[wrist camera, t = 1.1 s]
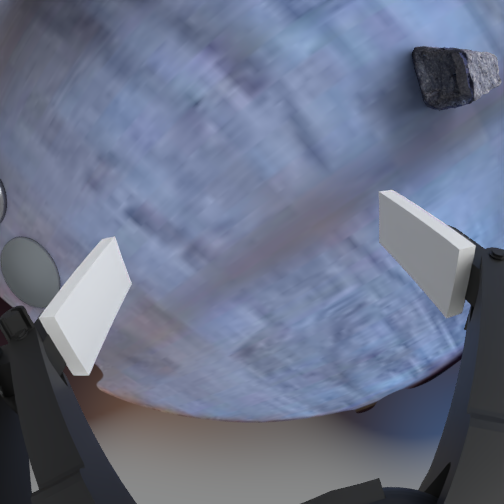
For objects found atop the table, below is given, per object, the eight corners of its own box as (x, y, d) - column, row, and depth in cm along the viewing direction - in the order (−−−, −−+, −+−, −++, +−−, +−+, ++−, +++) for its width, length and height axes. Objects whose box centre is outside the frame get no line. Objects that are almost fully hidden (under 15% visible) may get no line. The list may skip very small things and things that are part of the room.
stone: (405, 103, 37) (398, 37, 30) (446, 93, 38) (442, 35, 31) (470, 133, 28) (471, 53, 21) (506, 120, 29) (508, 52, 22)
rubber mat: (-7, 260, 42) (-9, 262, 41) (26, 222, 39) (24, 223, 39) (35, 315, 47) (33, 317, 46) (73, 285, 44) (71, 288, 44)
